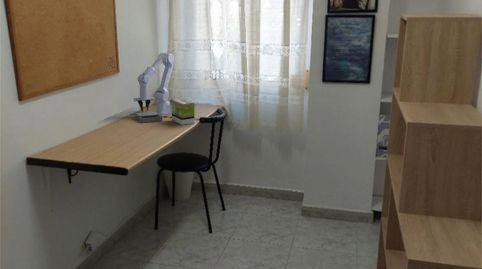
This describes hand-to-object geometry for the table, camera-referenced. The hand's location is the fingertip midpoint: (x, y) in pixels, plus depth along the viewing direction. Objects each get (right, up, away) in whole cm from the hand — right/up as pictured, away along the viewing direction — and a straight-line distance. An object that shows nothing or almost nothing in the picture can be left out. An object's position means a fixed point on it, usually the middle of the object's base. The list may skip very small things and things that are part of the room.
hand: (144, 110), depth 317 cm
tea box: (+28, -8, -9) cm, 31 cm away
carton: (+5, -7, -8) cm, 11 cm away
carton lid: (+2, -2, -3) cm, 5 cm away
